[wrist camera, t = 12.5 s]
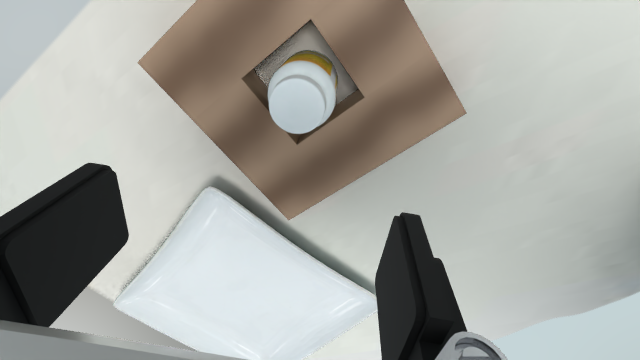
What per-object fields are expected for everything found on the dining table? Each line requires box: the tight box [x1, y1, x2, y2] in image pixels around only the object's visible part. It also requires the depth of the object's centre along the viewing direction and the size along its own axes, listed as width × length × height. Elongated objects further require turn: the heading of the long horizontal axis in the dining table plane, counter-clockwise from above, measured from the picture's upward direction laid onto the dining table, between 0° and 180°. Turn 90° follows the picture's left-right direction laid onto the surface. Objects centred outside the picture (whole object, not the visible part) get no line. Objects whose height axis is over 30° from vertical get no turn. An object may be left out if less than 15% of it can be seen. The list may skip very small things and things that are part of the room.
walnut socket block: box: [138, 0, 466, 220], centre depth 29 cm, size 20×20×4 cm
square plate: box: [113, 187, 378, 360], centre depth 44 cm, size 27×27×4 cm
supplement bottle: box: [268, 50, 338, 134], centre depth 27 cm, size 5×5×10 cm
